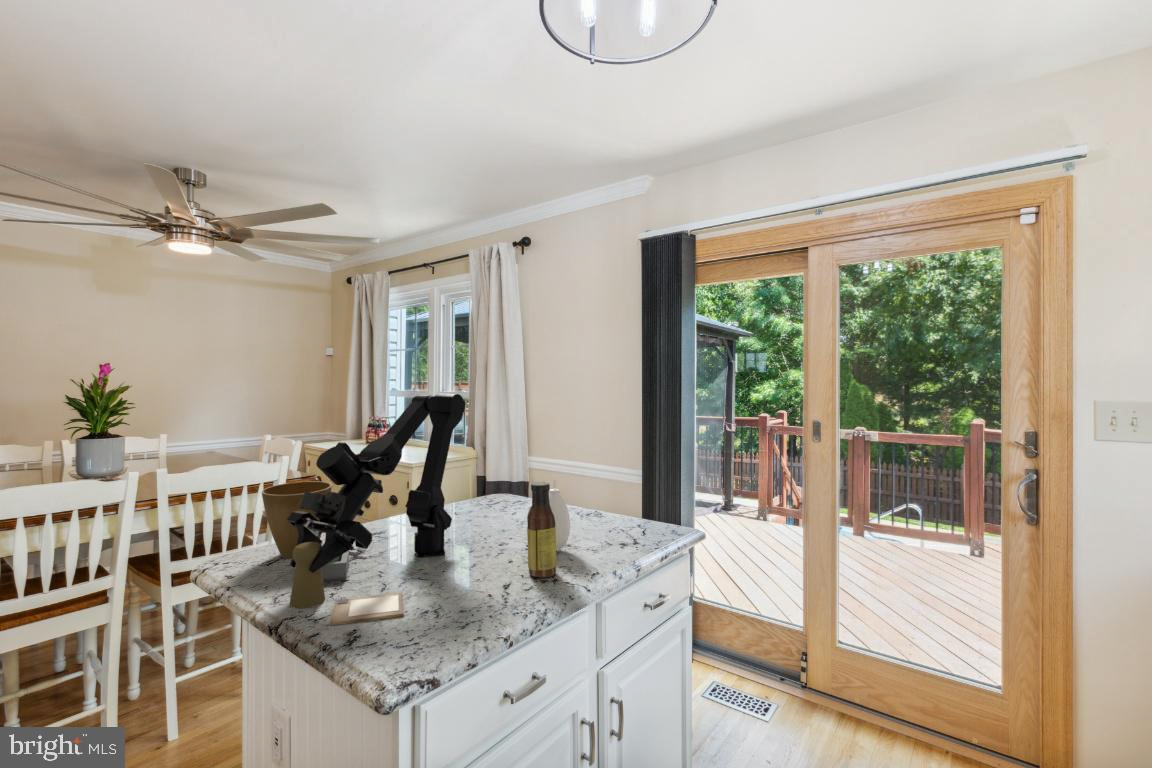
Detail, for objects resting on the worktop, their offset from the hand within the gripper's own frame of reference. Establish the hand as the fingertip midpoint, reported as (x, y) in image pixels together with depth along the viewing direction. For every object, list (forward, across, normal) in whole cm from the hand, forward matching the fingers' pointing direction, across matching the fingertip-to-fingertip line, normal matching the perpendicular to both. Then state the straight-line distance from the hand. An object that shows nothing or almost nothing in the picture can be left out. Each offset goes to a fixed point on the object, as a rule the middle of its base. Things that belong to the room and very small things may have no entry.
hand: (301, 569), depth 100 cm
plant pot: (-8, -27, +18) cm, 33 cm away
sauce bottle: (-20, +31, +30) cm, 48 cm away
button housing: (-4, -9, +14) cm, 17 cm away
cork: (+4, 0, +6) cm, 7 cm away
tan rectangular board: (+2, +13, +8) cm, 15 cm away
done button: (-6, -9, +12) cm, 16 cm away
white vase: (-31, +26, +40) cm, 57 cm away
